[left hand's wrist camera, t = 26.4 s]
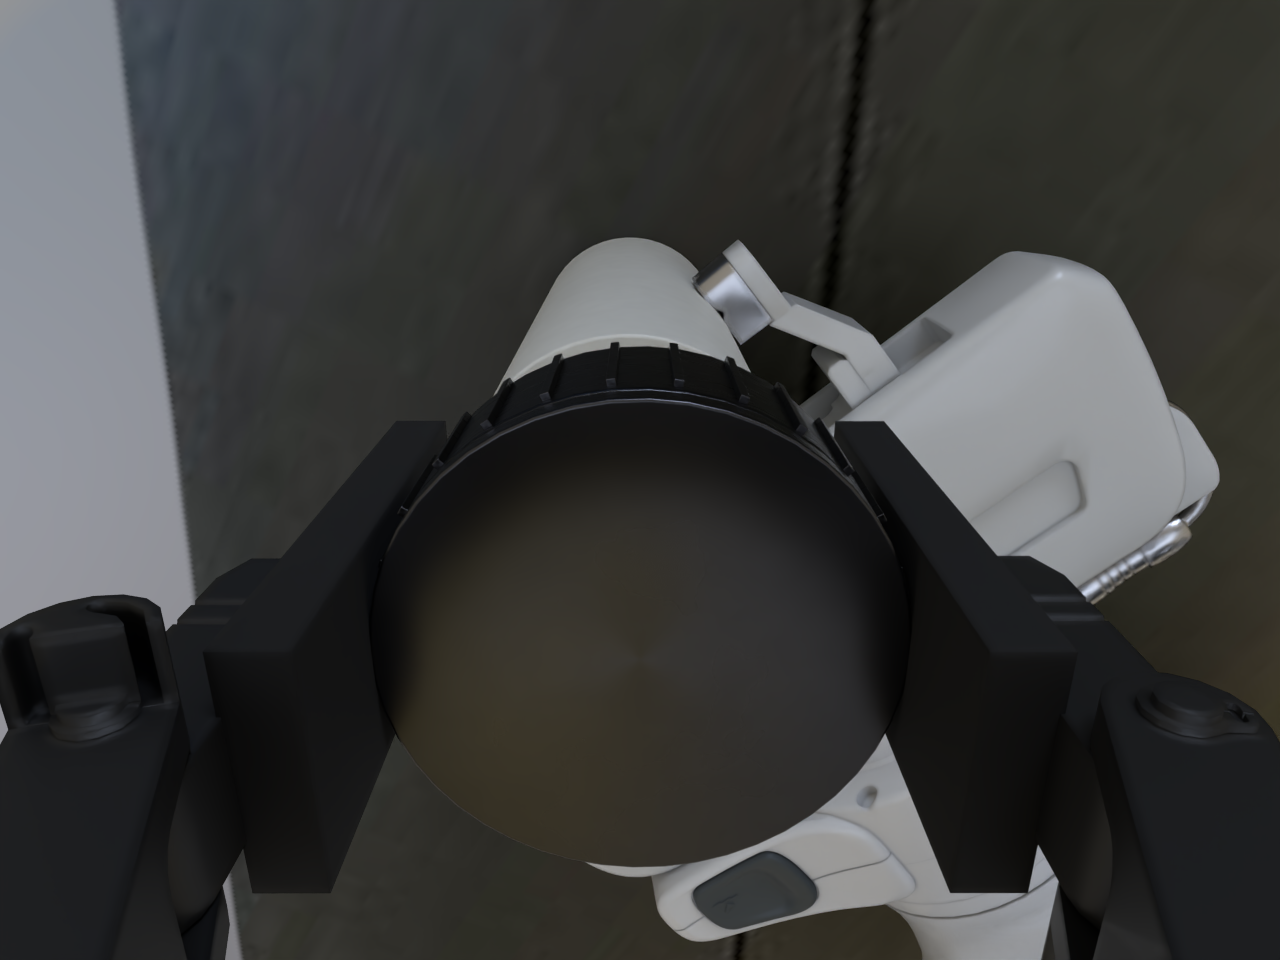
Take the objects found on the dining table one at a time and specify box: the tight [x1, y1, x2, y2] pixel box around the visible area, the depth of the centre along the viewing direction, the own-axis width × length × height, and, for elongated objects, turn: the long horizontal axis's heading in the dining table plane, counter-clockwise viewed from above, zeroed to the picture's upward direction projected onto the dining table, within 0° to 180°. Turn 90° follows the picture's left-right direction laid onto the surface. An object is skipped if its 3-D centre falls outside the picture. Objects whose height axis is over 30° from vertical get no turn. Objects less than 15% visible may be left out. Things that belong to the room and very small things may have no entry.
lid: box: [369, 342, 912, 867], centre depth 11 cm, size 6×6×2 cm
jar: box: [494, 238, 751, 395], centre depth 20 cm, size 5×5×16 cm
